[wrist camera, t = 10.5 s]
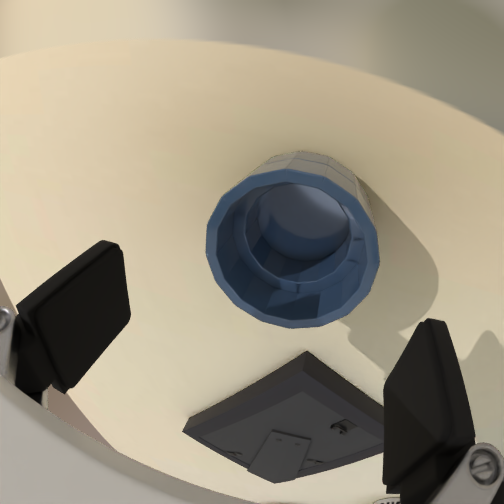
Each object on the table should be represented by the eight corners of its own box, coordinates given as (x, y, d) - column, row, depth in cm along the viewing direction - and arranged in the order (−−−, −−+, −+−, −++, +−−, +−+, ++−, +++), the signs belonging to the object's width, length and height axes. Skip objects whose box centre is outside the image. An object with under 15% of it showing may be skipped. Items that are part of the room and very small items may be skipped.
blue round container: (248, 139, 15) (211, 155, 11) (383, 167, 14) (401, 195, 10) (235, 257, 19) (203, 305, 15) (351, 284, 18) (349, 342, 13)
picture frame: (279, 469, 31) (408, 424, 22) (275, 484, 29) (409, 444, 20) (188, 418, 30) (306, 349, 21) (180, 433, 28) (301, 373, 19)
